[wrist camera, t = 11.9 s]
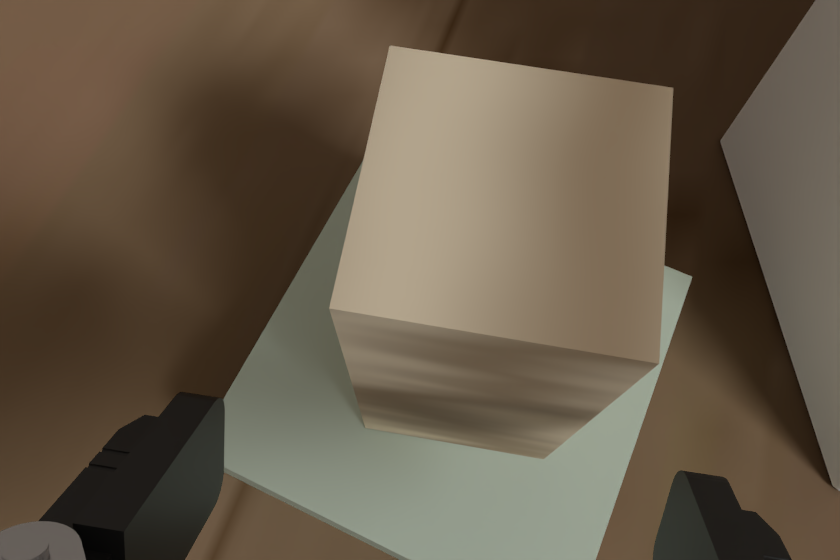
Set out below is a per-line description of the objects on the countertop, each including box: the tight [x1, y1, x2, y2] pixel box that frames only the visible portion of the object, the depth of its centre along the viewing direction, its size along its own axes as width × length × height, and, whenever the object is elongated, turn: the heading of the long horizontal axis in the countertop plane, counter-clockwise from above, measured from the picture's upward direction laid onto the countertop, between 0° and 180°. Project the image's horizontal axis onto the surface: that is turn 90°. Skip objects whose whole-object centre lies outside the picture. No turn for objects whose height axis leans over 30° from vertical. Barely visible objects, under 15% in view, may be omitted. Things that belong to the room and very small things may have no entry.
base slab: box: [223, 161, 692, 560], centre depth 23 cm, size 11×11×4 cm
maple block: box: [329, 46, 673, 459], centre depth 17 cm, size 5×5×10 cm
